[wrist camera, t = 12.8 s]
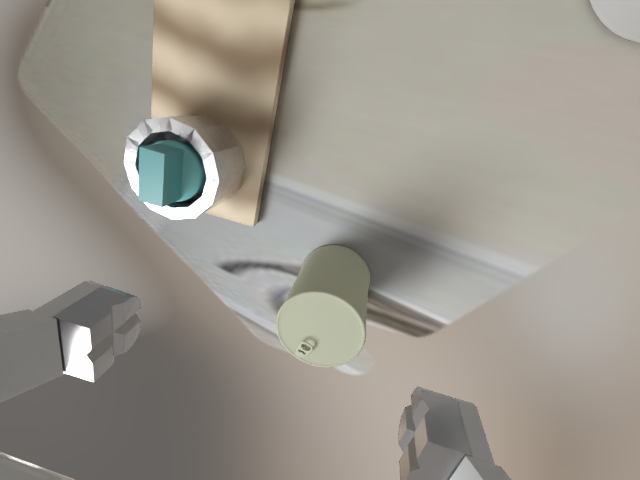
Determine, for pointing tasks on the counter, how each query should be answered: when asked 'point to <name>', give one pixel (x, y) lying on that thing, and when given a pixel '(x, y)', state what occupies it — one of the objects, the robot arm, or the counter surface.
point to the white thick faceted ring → (210, 143)
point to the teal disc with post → (169, 172)
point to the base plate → (224, 77)
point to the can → (326, 308)
